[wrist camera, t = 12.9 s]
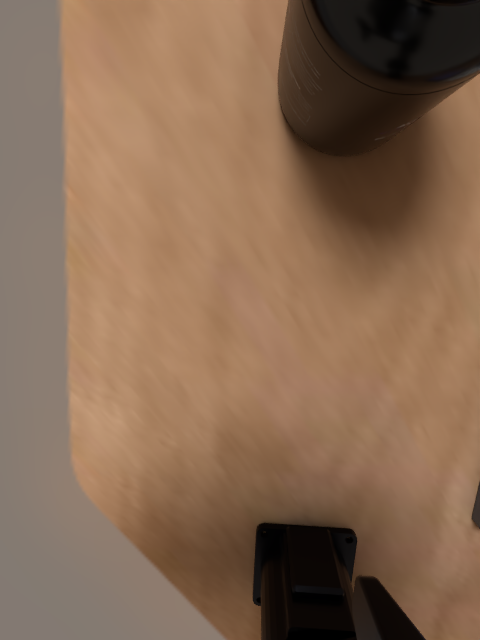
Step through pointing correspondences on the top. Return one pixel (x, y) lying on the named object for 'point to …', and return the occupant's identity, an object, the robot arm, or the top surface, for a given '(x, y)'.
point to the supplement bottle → (372, 66)
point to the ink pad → (477, 509)
